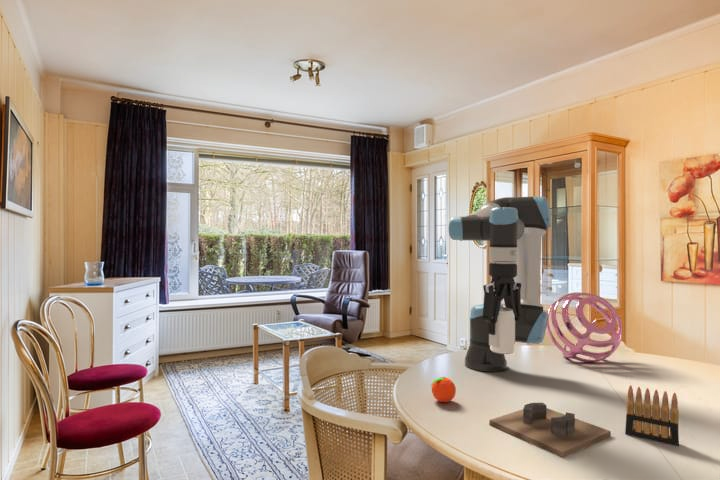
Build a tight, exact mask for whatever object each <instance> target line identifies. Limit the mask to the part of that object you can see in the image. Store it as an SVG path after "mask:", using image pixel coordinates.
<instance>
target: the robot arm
mask: <svg viewBox="0 0 720 480" xmlns="http://www.w3.org/2000/svg"><path fill="white" fill-rule="evenodd" d="M551 227H552V218H551V209H550V204H549V200H548V199H547V197H545V196H535V195H533V196H513V197H508V196H507V197H501V198H497V199H493V200H491V201H488V202H486V203H484V204H482V205H480V207H479V208H478V210H475V211H474V212H471V213H470V214H468V215H465V216H453V217H451V218H450V219H449V221H448V236H449V238H450V239H451V240H453V241H460V242H462V241H483V242H484V241H485V242H486V241H487V242H489V249H488V250H489V251H488V252H489V253H488V261H490V263H489V264H488V269H489V270H488V275H489V276H490V277H491V281H490V283H489V284H484V285H483V293H484V295H483V303H481V304H476V305H473V306H472V307H471V309H470V315H469V344H468V345H469V346H468V348H467V352H466V355H465V358H464V366H465V367H467V368H469V369H472V370H475V371H480V372H488V373H489V372H490V373H493V372H494V373H495V372H503V371H505V370H507V368H508V366H507V365H508V361H507V359H506V356H505V355H506V354H499V353H494V352H492V351H491V350H490V346H494V347H499V323H496V322H497V318H498V314H499V309H500V307H504V306H505V308H511V309H513V313H514V316H515V327H514V345H515V344H516V342H517V343H520V344H521V343H522V344H527V345H529V344H533V345H538V344H539V345H540V344H541V343H542V342H543V341H544V338H545V335H546V332H547V328H546V326H547V317H548V314H547V312H548V311H545V310H544V306H543V304H542V303H541V302H540V288H541V287H540V284H541V262H542V241H543V240H542V239H543V236H545V235H546V234H547V229H550V228H551ZM502 301H503V302H504V305H503V304H502Z"/></svg>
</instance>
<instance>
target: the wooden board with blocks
mask: <svg viewBox="0 0 720 480" xmlns="http://www.w3.org/2000/svg"><path fill="white" fill-rule="evenodd" d="M575 415H576V414H575V413H572V412H565V414H564V413H561V412H558V411H556V410H554V409H551V408H548V407H547V404H545V403H544V402H529V403H526V404H525V405H524V406H523V408H522V409H519V410H517V411H513V412H510V413H508V414H503V415H501V416H498V417H494V418H492V419H489V421H488V422H489V423H488V424H489V426H492V427H494V428H496V429H498V430H500V431H503V432H505V433H507V434H510V435H512V436H514V437H516V438H518V439H520V440H523V441H525V442H528V443H529V444H531V445H534V446H536V447H538V448H541V449H543V450H545V451H547V452H550V453H551V454H554V455H556V456H559V457H561V458H565V457H568V456H570V455H572V454H574V453H577V452H579V451H581V450H583V449H585V448H587V447H589V446H591V445H594V444H596V443H598V442H600V441H602V440H605V439H608V438H610V437H611V432H612V431H611V430H608V429H606V428H603V427H600V426H597V425H596V424H592V423H590V422H586V421H584V420H581V419H578V418H576V416H575Z"/></svg>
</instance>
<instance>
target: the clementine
mask: <svg viewBox="0 0 720 480" xmlns="http://www.w3.org/2000/svg"><path fill="white" fill-rule="evenodd" d="M430 387H431V393H432V396H433V398H434V399H435V400H437V401H438V402H440V403H449V402H451V401H452V400H453V399H454V398H455V396H456V393H457V389H456V385H455V383H454V382H453V380H451V379H450V378H449V377H444V376H442V377H438V378H436V379H434V380H433V381H432V383H431V385H430Z"/></svg>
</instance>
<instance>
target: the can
mask: <svg viewBox="0 0 720 480" xmlns="http://www.w3.org/2000/svg"><path fill="white" fill-rule="evenodd" d="M496 323H499V347H494V346H490V350H491V351H492V352H494V353H499V354H504V355H510V354H513V353H514V352H515V344H514V327H515V316H514V313H513V309H511V308H506V307H504V306H503V307H500V309H499V314H498V318H497V322H496Z"/></svg>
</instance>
